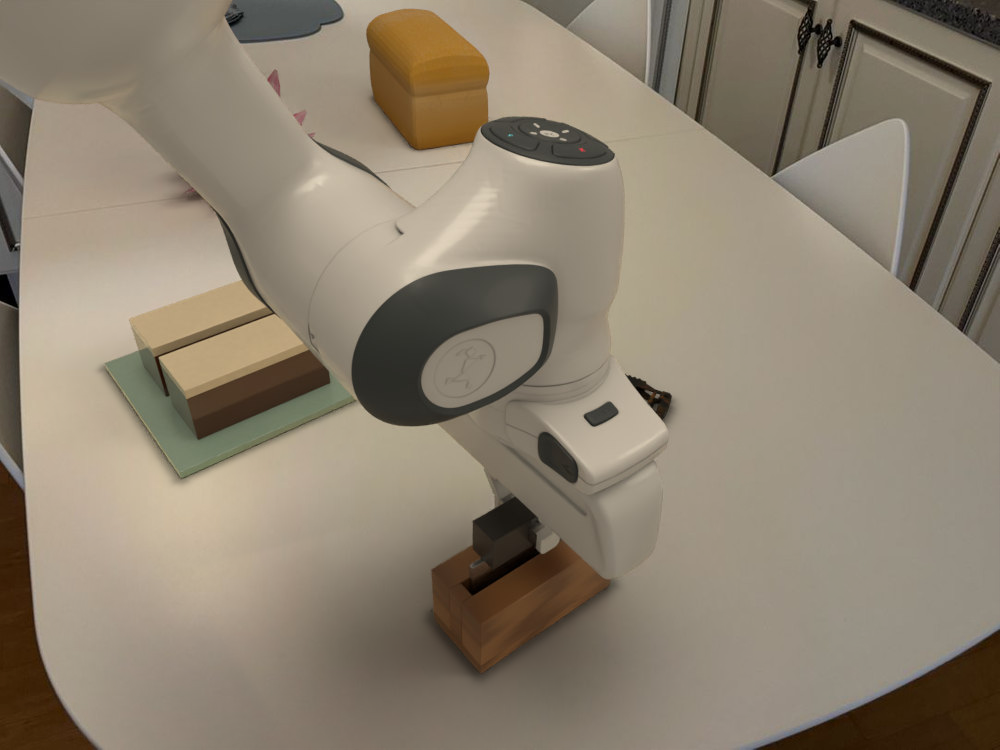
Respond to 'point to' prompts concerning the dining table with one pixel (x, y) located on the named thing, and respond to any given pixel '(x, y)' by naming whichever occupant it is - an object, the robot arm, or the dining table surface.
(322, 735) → the dining table surface
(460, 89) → the bread
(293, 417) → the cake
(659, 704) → the dining table surface
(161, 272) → the dining table surface
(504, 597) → the knife block
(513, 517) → the metal bench scraper
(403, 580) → the dining table surface
